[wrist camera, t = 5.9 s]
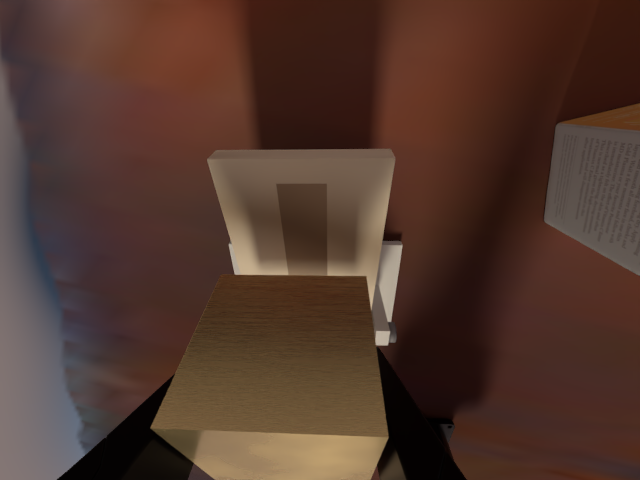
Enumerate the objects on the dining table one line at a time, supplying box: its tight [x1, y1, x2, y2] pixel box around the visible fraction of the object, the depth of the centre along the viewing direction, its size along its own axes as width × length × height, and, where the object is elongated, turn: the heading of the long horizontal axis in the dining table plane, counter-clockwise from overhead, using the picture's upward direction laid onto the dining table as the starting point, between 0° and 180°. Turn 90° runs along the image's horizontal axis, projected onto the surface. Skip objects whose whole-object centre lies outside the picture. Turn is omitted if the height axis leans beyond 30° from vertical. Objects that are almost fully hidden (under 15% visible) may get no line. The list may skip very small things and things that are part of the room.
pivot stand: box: [229, 241, 403, 345], centre depth 18 cm, size 8×12×5 cm, turn 91°
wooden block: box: [150, 275, 389, 480], centre depth 9 cm, size 5×5×4 cm
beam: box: [207, 149, 395, 310], centre depth 17 cm, size 22×7×1 cm, turn 1°
